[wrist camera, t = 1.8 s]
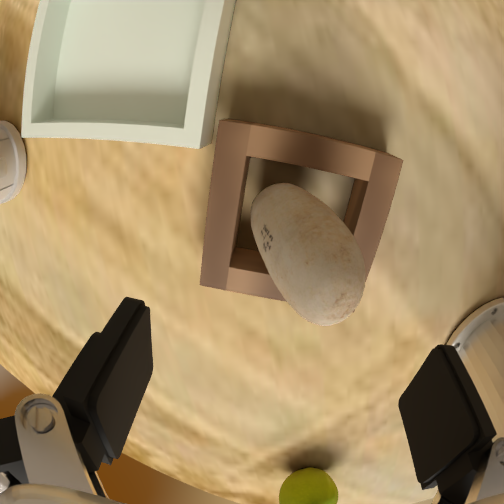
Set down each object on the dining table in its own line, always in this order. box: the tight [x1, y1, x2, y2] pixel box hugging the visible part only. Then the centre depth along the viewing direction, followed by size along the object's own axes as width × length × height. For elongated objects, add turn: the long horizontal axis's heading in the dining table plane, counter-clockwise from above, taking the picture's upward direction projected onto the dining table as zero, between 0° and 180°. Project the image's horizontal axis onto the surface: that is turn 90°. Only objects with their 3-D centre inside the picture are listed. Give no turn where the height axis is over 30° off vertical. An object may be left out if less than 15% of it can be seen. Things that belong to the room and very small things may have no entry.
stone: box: [251, 183, 366, 326], centre depth 19 cm, size 6×6×12 cm
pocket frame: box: [200, 119, 403, 312], centre depth 22 cm, size 12×12×4 cm
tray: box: [21, 0, 236, 149], centre depth 17 cm, size 16×16×4 cm
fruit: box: [279, 467, 338, 504], centre depth 38 cm, size 9×9×10 cm
